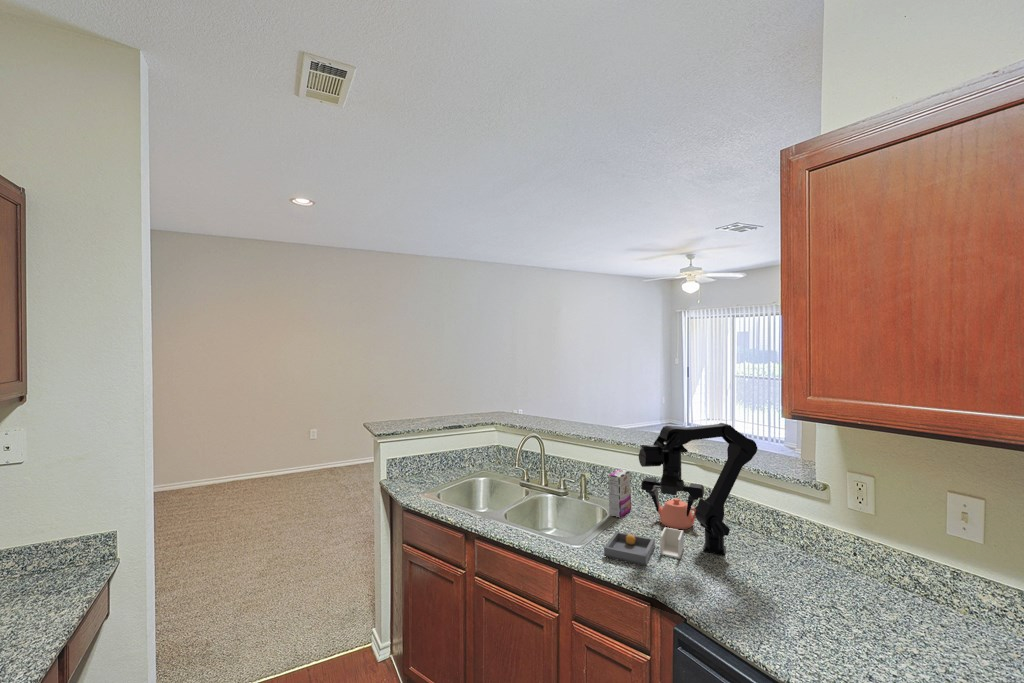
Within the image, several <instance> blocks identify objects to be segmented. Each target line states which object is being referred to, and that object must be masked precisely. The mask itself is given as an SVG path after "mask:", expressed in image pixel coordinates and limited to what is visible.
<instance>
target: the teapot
mask: <svg viewBox="0 0 1024 683" xmlns="http://www.w3.org/2000/svg"><path fill="white" fill-rule="evenodd" d="M660 504H661V503H659V511H658V512H657V514H658V515H659V519H660V520H659V521H660V522H661V524H662V526H664V527H666V526H667V527H666V528H669V527H670V528H672V529H673V528H674V529H685V530H688V528H689V529H690V528H691V527H692V526H693V525H694V523H695V520H696V515H695V512H696V509H695V508H696V507H693V506H691V509H690V512H689V515H688V517H687V504H688V502H686V501H682V500H681V499H680V498H676V497H674V498H673V499H669V500H667V501H665V503H664V504H663V506H661V505H660ZM692 511H693V512H694V513H693V512H692Z"/></svg>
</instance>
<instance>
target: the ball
mask: <svg viewBox="0 0 1024 683" xmlns="http://www.w3.org/2000/svg"><path fill="white" fill-rule="evenodd" d="M628 534H629V535H627V536H626V542H627V543H628V544H629V545H633V544H634V543H635V541H636V539H635V537H634V536H633V535H634V534H630V533H628Z"/></svg>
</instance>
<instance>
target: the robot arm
mask: <svg viewBox="0 0 1024 683" xmlns="http://www.w3.org/2000/svg"><path fill="white" fill-rule="evenodd" d="M715 438H722V439H723V440H724V441H725V443H727V444H728V445H727V449H726V450H727V451H726V452H727V459H726V461H725V463H724V465H723V468H722V469H721V472H720V474H719V476H718V478H717V479H716V482H715V484H714V486H713V488H712V490H711V491H710V494H709V496H708V497H707V498H705V499H703V497H704V494H705V487H704V485H703V484H701V483H693V482H692V483H690V484H689V485H685V482H684V479H682V453H688V452H689V450H688V449H687V448H686V447H685V446H684V445H687V444H688V443H689V442H691V441H692V442H693V441H699V440H706V439H707V440H708V439H715ZM757 451H758V445H757V443H756V441H755V440H753V439H751V438H748V437H747V436H746V435H744V434H743V433H741V432H739V431H738V430H736V429H735V428H734V427H733V426H732V425H730V424H728V423H724V422H720V423H716V424H715V423H714V424H706V425H699V426H697V425H696V426H690V427H686V426H677V425H675V426H674V425H665V426H663V427H662V428H661V430H660V432H659V435H658V437H657V438H656V439H655V441H654V442H653V444H652V445H651V444H650V445H648V444H642V445H641V448H640V450H639V453H638V461H639V464H640V466H641V467H643V468H645V467H649V468H650V467H661V465H662V475H661V478H660V481H658V480H657V478H656V477H647V476H646V477H645V478H644V479H643V480H642V481H641V485H640V486H641V488H640V489H641V490H643V491H645V493H647V494H649V495H650V497H651V499H652V501H653V504H654V506H655V509H656V512H657V513H658V511H659V504H660V501H659V500H660V499H659V489H660V493H661V494H663V495H671V496H677V495H678V492H684V493H688V496H687V517H688V515H689V512H690V509H691V507H693V503H694V501H697V500H698V503H697V505H696V507H694V508H695V509H696V512H695V515H696V518H695V520H697V522H699V524H700V526H701V527H702V528H704V545H703V548H702V551H703V552H707V553H712V554H717V555H722V556H726V550H727V545H725V537H727V536H729V534H730V531H731V528H730V527H729V526H727V525H726V523H724V522H723V521H724V518H725V505H726V504H725V503H726V501H727V499H728V498H729V495H730V494H731V491H732V489H733V487H734V485H735V484H736V483H735V482H736V481H737V479H738V477H739V474H740V472H741V470H742V468H743V467H744V466H745V465H746V464H748V463H749V462H751V461H752V460H753V458H754V456H755V455H756V453H757Z"/></svg>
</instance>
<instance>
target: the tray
mask: <svg viewBox="0 0 1024 683" xmlns="http://www.w3.org/2000/svg"><path fill="white" fill-rule="evenodd" d="M629 534H630V533H626V532H625V533H624V532H620V531H615V532H614V534H613V535H612V536H611V538H610V539H609V541H608V542H607V543H606V545H604V547H603V551H604V552H603V553H604V555H603V557H604V556H606V557H610V558H609V559H611V558H614V559H613V560H615V559H618V560H617V561H620V560H622V561H621V562H624V561H626V562H625V563H629V562H631V563H630V564H633V563H635V564H634V565H637V564H639V565H638V566H642V565H643V566H642V567H647V565H648V563H649V561H650V560H651V557H652V555H653V553H654V551H655V549H656V539H655V538H650V537H646V536H640V535H636V534H632V535H633V536H634V537H635V539H636V541H635V543H634V544H633V545H629V544H628V543H627V542H626V536H627V535H629ZM606 557H605V558H606Z"/></svg>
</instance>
